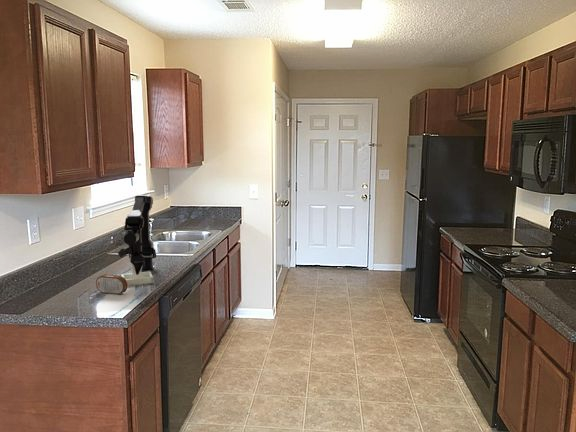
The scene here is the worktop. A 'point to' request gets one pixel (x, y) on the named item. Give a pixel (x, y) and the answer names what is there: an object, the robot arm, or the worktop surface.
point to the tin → (111, 284)
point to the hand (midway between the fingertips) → (136, 272)
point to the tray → (138, 279)
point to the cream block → (135, 273)
